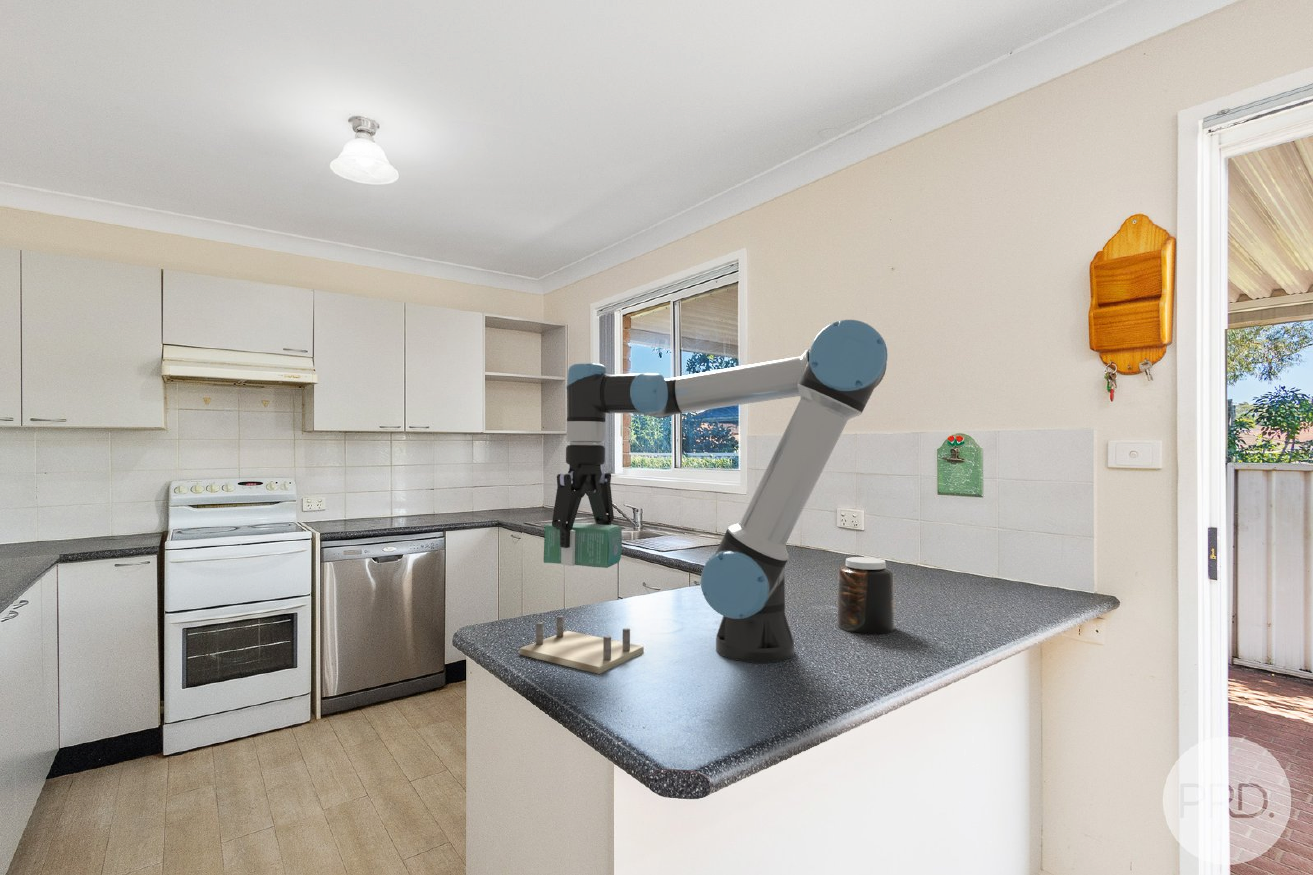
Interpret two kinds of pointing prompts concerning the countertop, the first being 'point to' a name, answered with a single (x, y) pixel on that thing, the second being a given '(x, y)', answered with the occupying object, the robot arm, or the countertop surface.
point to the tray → (581, 649)
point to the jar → (866, 596)
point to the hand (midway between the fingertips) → (583, 561)
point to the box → (586, 544)
